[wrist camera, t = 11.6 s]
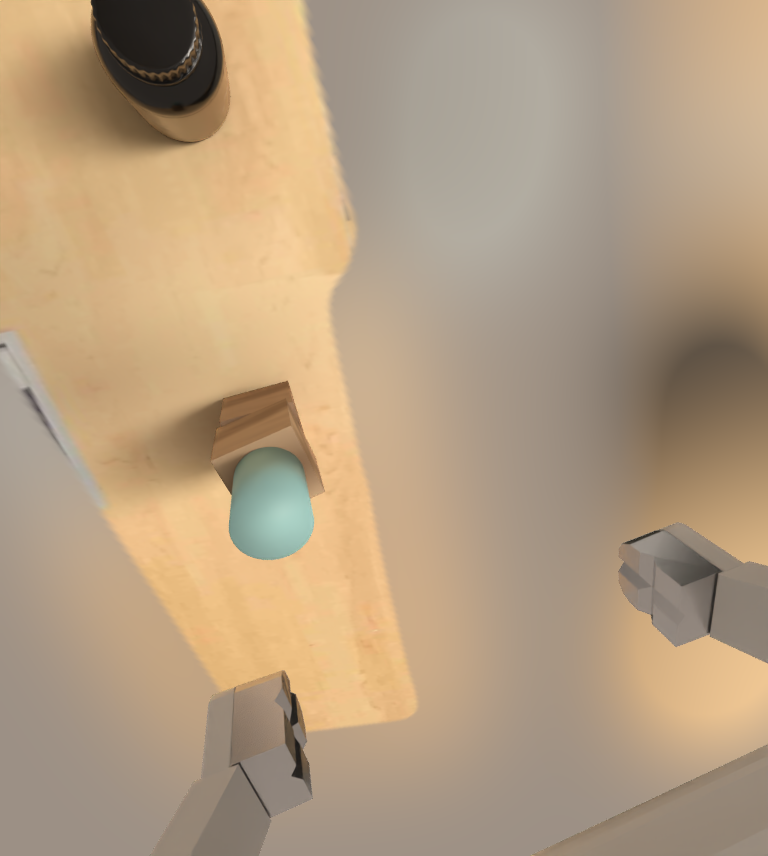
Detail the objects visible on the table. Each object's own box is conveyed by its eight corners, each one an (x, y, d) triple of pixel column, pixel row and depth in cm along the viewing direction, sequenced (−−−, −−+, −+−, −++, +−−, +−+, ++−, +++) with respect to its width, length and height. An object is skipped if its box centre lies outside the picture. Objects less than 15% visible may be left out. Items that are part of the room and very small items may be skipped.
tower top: (216, 428, 37) (210, 461, 32) (285, 398, 38) (291, 425, 32) (251, 486, 40) (250, 525, 34) (315, 457, 40) (324, 491, 35)
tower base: (223, 398, 42) (219, 422, 37) (287, 380, 43) (292, 401, 38) (244, 454, 45) (243, 484, 39) (305, 437, 46) (311, 463, 40)
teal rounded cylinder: (223, 458, 32) (216, 504, 26) (294, 438, 33) (301, 479, 27) (246, 516, 34) (244, 570, 29) (312, 496, 35) (322, 544, 29)
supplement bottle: (250, 106, 35) (249, 49, 24) (179, 163, 35) (146, 132, 24) (182, 4, 32) (145, -114, 21) (104, 67, 32) (28, -17, 21)
